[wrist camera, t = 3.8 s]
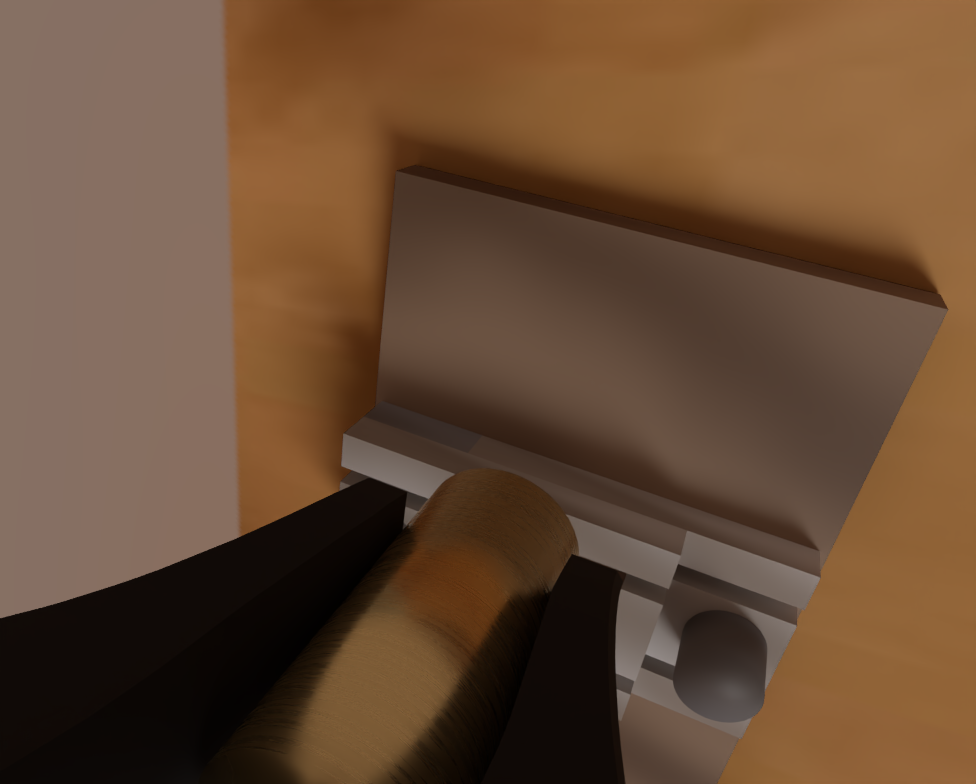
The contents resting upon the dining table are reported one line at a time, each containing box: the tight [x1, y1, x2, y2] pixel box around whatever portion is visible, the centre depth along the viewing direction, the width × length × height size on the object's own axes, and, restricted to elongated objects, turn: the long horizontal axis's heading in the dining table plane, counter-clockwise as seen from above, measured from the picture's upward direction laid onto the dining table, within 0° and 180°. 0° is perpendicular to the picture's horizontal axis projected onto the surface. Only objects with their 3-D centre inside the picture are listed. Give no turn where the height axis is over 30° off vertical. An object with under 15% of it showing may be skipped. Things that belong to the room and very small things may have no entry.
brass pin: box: [198, 468, 579, 784], centre depth 9 cm, size 2×2×5 cm
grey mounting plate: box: [340, 165, 948, 784], centre depth 19 cm, size 18×12×4 cm, turn 171°
